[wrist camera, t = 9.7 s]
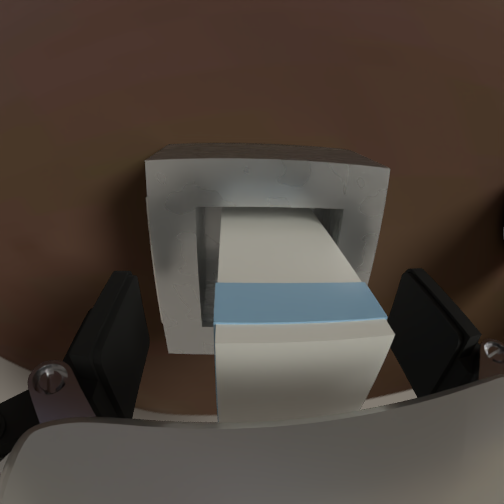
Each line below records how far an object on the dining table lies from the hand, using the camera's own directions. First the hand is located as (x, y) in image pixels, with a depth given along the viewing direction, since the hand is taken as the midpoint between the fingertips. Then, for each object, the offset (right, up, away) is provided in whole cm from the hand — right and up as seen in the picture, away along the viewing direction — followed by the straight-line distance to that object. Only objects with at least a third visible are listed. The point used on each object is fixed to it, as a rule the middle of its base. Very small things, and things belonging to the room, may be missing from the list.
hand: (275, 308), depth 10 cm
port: (0, +3, +6) cm, 7 cm away
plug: (0, +3, +6) cm, 6 cm away
